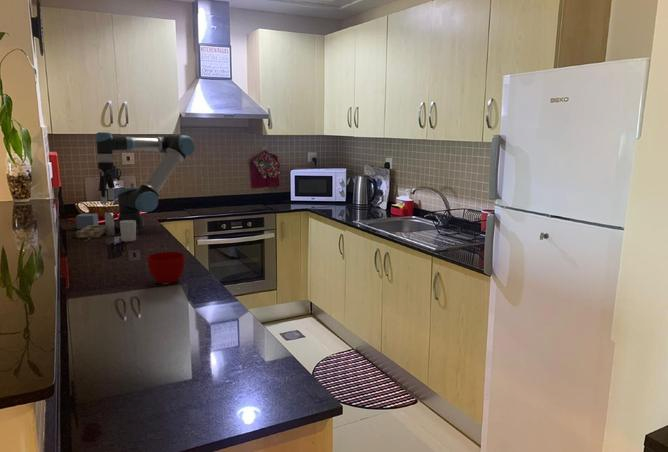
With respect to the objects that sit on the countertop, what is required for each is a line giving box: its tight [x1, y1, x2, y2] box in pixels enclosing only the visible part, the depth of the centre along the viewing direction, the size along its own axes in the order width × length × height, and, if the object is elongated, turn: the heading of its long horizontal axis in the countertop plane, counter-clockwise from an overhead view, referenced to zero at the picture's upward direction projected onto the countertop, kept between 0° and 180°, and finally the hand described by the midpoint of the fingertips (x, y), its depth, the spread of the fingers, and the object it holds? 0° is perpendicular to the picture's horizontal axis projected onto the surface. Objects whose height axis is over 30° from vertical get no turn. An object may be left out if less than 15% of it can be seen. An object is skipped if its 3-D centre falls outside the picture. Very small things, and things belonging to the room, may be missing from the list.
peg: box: [104, 212, 116, 237], centre depth 268 cm, size 4×4×12 cm
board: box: [75, 224, 106, 239], centre depth 271 cm, size 11×20×3 cm, turn 10°
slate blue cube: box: [75, 213, 99, 230], centre depth 287 cm, size 9×9×8 cm
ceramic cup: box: [147, 251, 185, 284], centre depth 184 cm, size 13×17×10 cm
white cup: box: [119, 220, 137, 243], centre depth 255 cm, size 8×8×10 cm
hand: (107, 201), depth 266 cm, fingers open, 13 cm apart
